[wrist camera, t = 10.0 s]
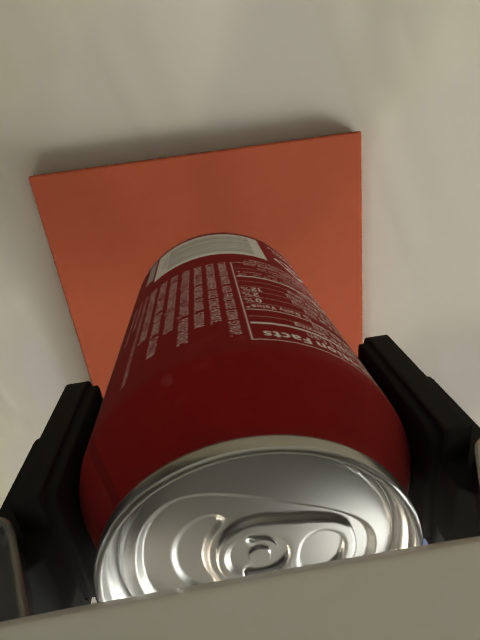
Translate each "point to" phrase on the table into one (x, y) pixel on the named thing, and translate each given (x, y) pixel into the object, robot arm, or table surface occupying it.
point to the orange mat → (204, 227)
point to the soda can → (237, 432)
